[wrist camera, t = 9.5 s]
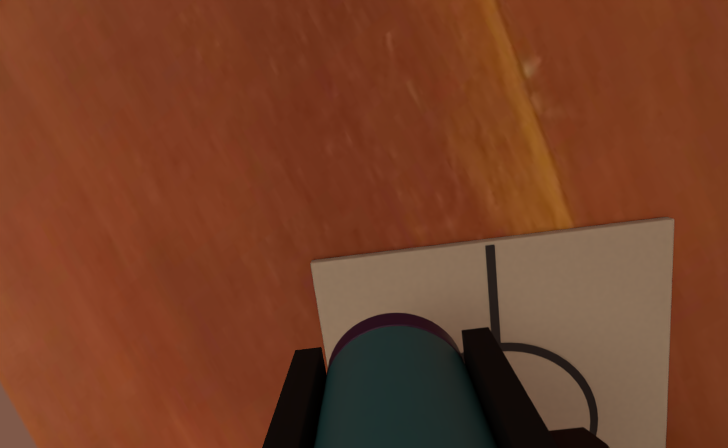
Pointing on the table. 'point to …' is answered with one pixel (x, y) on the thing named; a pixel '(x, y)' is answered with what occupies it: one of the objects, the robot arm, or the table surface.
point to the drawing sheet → (538, 315)
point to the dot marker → (400, 389)
